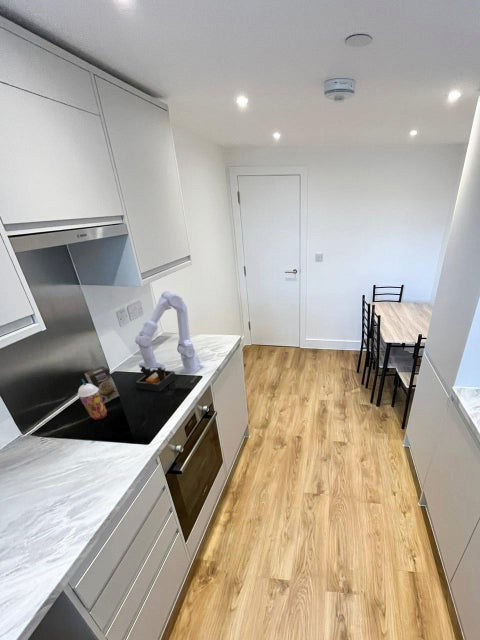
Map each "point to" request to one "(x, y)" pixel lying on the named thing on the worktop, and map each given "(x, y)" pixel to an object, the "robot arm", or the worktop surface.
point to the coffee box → (103, 383)
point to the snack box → (154, 378)
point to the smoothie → (92, 400)
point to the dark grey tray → (153, 386)
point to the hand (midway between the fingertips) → (156, 380)
